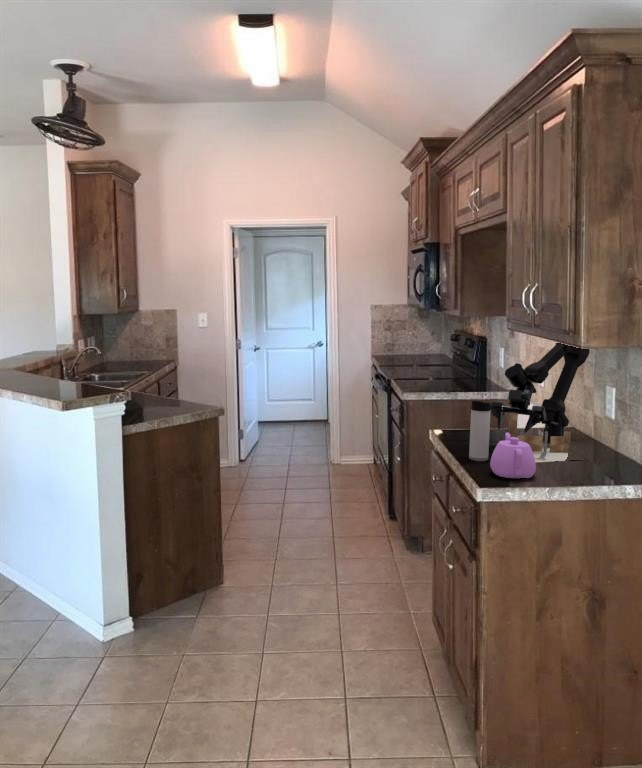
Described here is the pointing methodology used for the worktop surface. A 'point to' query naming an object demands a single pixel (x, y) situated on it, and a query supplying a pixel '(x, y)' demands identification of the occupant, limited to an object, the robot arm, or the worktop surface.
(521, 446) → the teapot
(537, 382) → the robot arm
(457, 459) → the worktop surface
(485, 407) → the travel mug
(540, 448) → the gate
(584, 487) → the worktop surface
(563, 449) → the base
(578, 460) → the worktop surface
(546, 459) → the card
